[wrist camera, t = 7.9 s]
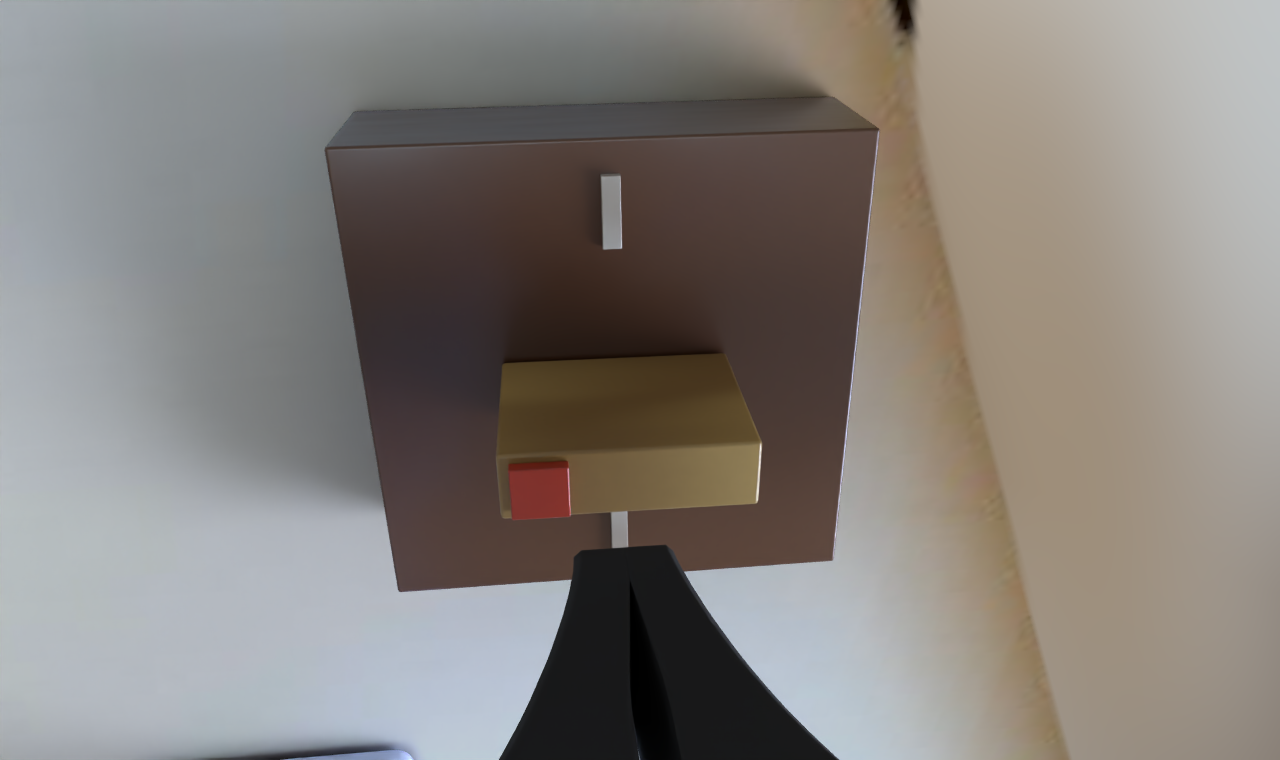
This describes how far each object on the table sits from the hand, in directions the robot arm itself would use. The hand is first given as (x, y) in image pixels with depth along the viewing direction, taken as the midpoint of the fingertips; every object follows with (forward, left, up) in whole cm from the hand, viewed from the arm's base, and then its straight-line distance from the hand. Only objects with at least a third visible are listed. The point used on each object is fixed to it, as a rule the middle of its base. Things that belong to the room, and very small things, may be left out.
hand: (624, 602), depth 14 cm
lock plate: (0, 0, -9) cm, 9 cm away
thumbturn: (0, 0, -6) cm, 6 cm away
